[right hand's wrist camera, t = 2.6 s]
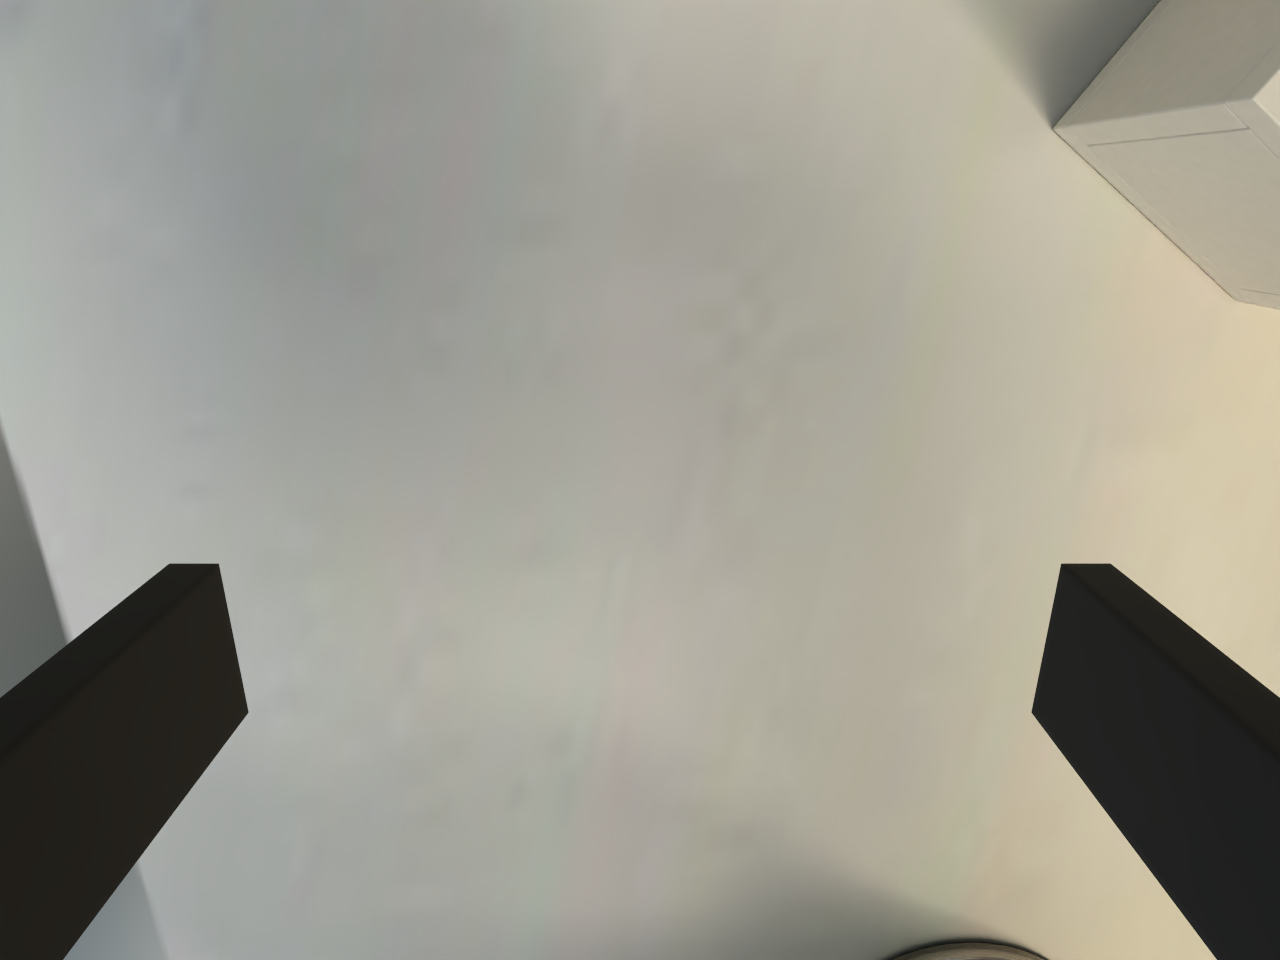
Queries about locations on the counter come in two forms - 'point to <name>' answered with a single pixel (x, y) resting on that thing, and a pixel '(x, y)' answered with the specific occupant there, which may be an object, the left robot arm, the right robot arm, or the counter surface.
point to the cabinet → (1196, 135)
